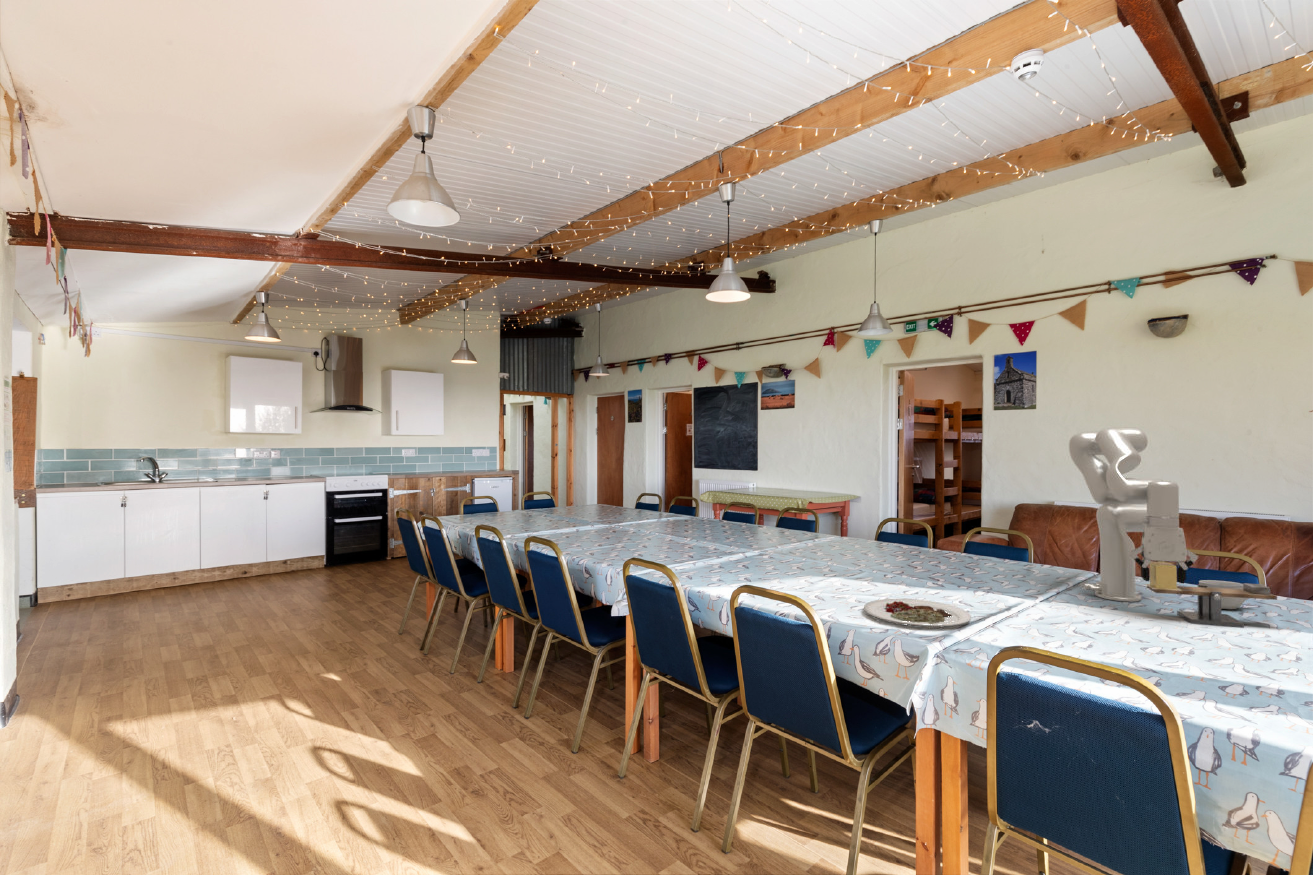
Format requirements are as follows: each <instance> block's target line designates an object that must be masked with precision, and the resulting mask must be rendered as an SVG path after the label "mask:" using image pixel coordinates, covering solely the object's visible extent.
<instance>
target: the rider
mask: <svg viewBox="0 0 1313 875" xmlns="http://www.w3.org/2000/svg"><path fill="white" fill-rule="evenodd" d="M1149 584H1150V585H1151V586H1153V587H1154V588H1156V589H1174V590H1177V586H1178V581H1177V564H1173V562H1162V561H1151V562H1150V564H1149Z"/></svg>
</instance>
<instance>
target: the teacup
mask: <svg viewBox="0 0 1313 875" xmlns="http://www.w3.org/2000/svg"><path fill="white" fill-rule="evenodd" d="M1198 585H1207V588H1223V589H1242V590H1243V583H1240V582H1234V581H1226V580H1211V579H1207V580H1204V579H1203V580H1202V579H1201V580H1199V581H1198ZM1249 599H1250V598H1238V597H1222V599H1221V610H1224V609H1225V610H1236V609H1238V608H1239V607H1241V606H1243V604H1244V603H1245V601H1247V600H1249Z"/></svg>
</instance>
